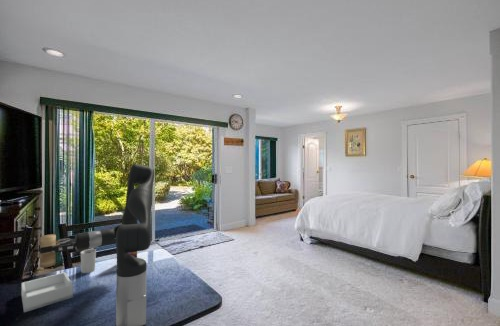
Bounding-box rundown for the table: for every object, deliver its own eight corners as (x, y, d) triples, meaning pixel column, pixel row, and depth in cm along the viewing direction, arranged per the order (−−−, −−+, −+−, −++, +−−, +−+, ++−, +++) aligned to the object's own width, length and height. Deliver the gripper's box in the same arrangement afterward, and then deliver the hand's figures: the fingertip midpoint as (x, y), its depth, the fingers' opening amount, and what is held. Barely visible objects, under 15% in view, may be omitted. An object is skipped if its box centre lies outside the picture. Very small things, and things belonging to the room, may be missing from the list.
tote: (72, 297, 99) (73, 284, 99) (23, 312, 88) (24, 298, 88) (65, 283, 111) (65, 272, 111) (21, 295, 100) (21, 282, 101)
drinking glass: (98, 268, 127) (99, 249, 127) (89, 273, 121) (89, 253, 121) (87, 267, 128) (87, 248, 128) (76, 273, 121) (77, 253, 121)
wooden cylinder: (56, 265, 100) (56, 235, 100) (40, 268, 96) (40, 238, 97) (54, 261, 103) (54, 233, 104) (39, 265, 100) (39, 236, 100)
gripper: (84, 229, 115) (37, 236, 103) (92, 234, 105) (41, 243, 93) (84, 245, 115) (37, 254, 103) (92, 252, 105) (40, 263, 93)
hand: (39, 249), depth 98 cm, fingers closed on wooden cylinder, 5 cm apart
